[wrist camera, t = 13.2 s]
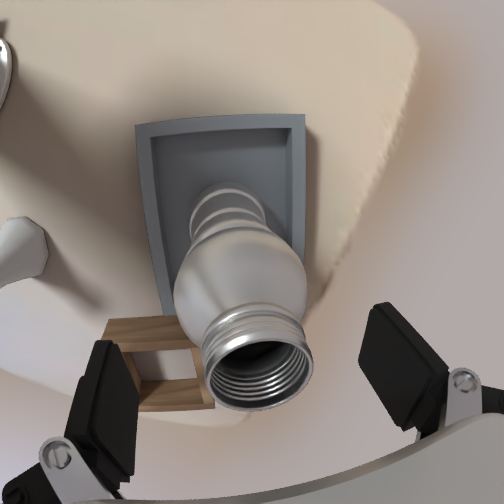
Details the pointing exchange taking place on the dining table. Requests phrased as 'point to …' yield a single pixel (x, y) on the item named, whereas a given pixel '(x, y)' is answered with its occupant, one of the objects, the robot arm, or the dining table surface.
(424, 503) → the robot arm
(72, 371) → the dining table surface
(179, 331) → the holder
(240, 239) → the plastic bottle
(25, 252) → the flask
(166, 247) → the parts tray
